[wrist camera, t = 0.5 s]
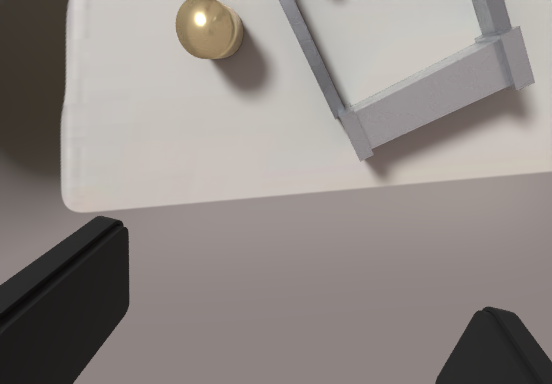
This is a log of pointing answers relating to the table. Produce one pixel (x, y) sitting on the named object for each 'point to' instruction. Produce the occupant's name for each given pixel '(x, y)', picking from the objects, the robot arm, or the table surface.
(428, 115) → the pipe jig
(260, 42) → the table surface
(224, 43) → the cylinder
